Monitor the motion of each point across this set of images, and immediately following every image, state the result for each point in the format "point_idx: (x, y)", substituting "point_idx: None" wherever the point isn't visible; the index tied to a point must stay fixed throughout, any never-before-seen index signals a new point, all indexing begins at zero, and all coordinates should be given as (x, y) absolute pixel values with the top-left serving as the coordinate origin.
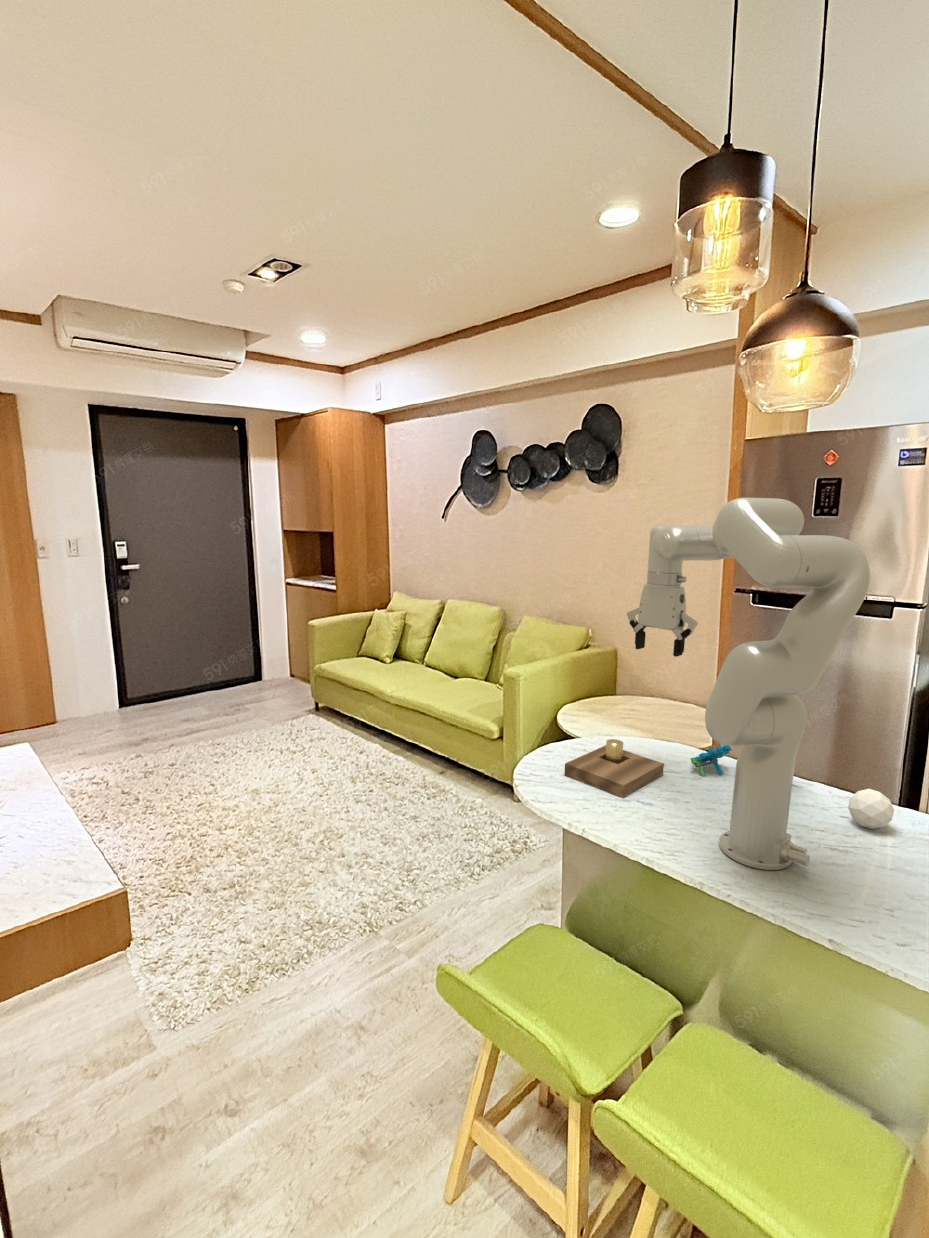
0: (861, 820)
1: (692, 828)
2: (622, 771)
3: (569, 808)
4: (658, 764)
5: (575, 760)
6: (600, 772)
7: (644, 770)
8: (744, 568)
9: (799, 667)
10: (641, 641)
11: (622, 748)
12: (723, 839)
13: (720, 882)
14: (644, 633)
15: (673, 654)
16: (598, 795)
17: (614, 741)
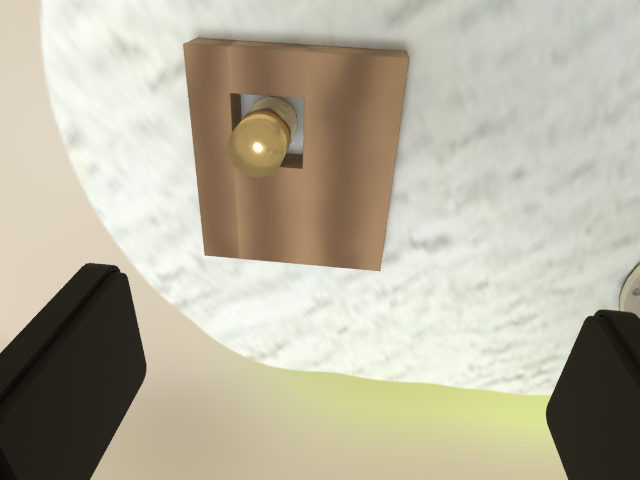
0: None
1: (556, 279)
2: (338, 204)
3: (320, 346)
4: (397, 81)
5: (208, 224)
6: (299, 245)
7: (382, 157)
8: None
9: None
10: (99, 393)
11: (285, 141)
12: (631, 310)
13: None
14: (16, 440)
15: (551, 426)
16: (331, 273)
17: (250, 144)
